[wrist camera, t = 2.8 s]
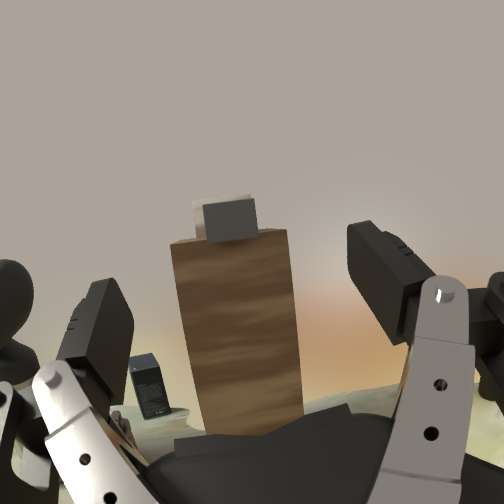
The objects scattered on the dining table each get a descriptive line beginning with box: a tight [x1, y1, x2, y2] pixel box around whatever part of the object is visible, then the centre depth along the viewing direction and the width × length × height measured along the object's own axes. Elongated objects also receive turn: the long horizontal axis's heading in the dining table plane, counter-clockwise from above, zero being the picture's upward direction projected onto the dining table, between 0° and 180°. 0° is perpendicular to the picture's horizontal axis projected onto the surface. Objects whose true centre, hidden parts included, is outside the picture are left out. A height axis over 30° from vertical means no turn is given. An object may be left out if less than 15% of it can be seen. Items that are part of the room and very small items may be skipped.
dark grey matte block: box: [202, 198, 259, 244], centre depth 34 cm, size 19×4×3 cm, turn 7°
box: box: [128, 353, 171, 419], centre depth 56 cm, size 8×6×11 cm
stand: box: [170, 194, 304, 436], centre depth 40 cm, size 12×12×37 cm
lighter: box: [111, 411, 141, 454], centre depth 37 cm, size 8×3×10 cm, turn 14°
